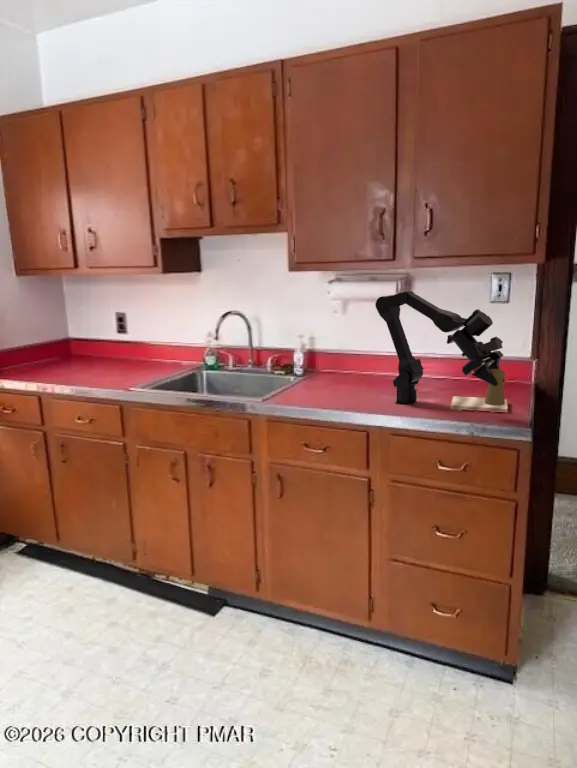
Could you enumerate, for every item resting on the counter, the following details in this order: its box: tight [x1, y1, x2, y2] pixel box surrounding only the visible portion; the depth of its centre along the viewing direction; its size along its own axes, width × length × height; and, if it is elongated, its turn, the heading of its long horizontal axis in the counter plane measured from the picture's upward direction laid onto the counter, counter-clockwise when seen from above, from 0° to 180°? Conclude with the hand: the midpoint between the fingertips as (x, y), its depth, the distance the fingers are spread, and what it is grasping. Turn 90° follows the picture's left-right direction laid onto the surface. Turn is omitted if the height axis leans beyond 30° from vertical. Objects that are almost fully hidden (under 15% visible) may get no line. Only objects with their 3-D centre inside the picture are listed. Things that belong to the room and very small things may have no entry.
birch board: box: [450, 395, 508, 413], centre depth 195 cm, size 18×13×2 cm
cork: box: [484, 368, 506, 406], centre depth 179 cm, size 6×6×11 cm
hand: (500, 383), depth 178 cm, fingers closed on cork, 5 cm apart
